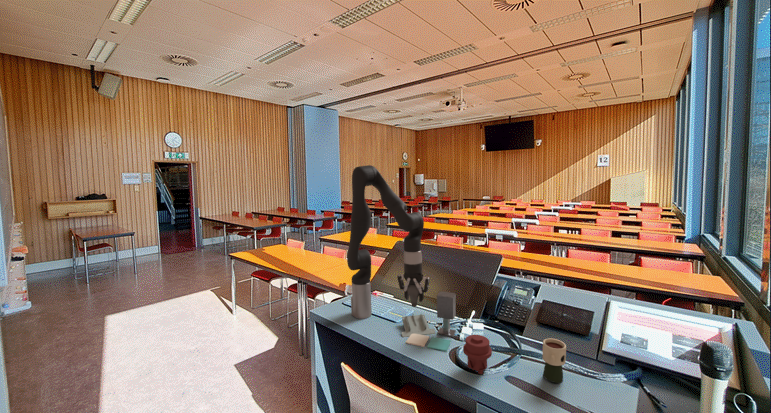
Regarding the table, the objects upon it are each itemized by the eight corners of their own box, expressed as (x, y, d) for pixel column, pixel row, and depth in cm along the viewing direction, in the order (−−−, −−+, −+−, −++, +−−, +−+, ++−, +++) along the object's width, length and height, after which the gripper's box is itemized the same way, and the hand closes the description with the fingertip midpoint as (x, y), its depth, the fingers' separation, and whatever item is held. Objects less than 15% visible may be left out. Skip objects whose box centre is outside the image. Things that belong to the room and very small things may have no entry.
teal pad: (427, 347, 138) (427, 346, 138) (432, 338, 145) (432, 336, 145) (446, 351, 135) (446, 350, 135) (451, 341, 142) (451, 340, 142)
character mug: (563, 391, 110) (565, 354, 108) (539, 384, 114) (541, 348, 112) (565, 373, 119) (567, 338, 118) (543, 367, 123) (544, 333, 121)
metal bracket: (397, 313, 158) (428, 310, 160) (396, 322, 160) (427, 319, 162) (403, 336, 145) (436, 332, 147) (402, 346, 147) (435, 342, 149)
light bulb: (406, 309, 140) (405, 285, 138) (409, 303, 145) (408, 281, 144) (419, 310, 138) (419, 286, 137) (422, 304, 143) (421, 282, 142)
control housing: (437, 334, 148) (436, 295, 145) (440, 328, 153) (440, 290, 150) (453, 337, 145) (453, 297, 143) (455, 331, 150) (455, 293, 148)
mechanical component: (457, 369, 123) (472, 357, 130) (482, 381, 116) (496, 368, 123) (457, 338, 122) (472, 327, 128) (482, 348, 114) (497, 337, 121)
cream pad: (405, 343, 142) (405, 342, 142) (412, 334, 149) (412, 332, 149) (423, 346, 139) (423, 345, 139) (429, 337, 146) (429, 336, 146)
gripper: (393, 262, 139) (394, 301, 141) (426, 265, 133) (427, 306, 135) (400, 257, 145) (401, 294, 148) (432, 259, 139) (433, 299, 142)
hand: (414, 300), depth 141 cm, fingers closed on light bulb, 5 cm apart
